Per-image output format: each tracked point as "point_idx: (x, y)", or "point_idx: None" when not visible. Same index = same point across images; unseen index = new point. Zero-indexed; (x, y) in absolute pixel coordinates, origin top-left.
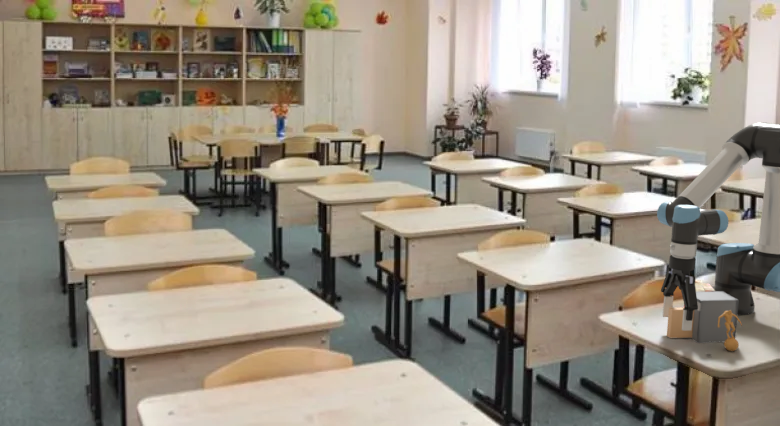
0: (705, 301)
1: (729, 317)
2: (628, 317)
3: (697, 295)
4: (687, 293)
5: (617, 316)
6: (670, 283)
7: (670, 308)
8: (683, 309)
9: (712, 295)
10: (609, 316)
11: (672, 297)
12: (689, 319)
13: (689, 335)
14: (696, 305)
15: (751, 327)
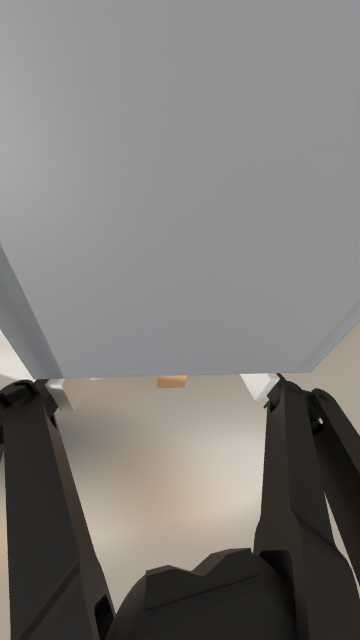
0: (328, 343)
1: None
2: (6, 347)
3: (188, 340)
4: (340, 504)
5: (7, 364)
6: (103, 573)
7: (166, 387)
8: (266, 406)
9: (275, 23)
10: (15, 376)
11: (64, 385)
12: None
13: None
14: (336, 411)
15: None
